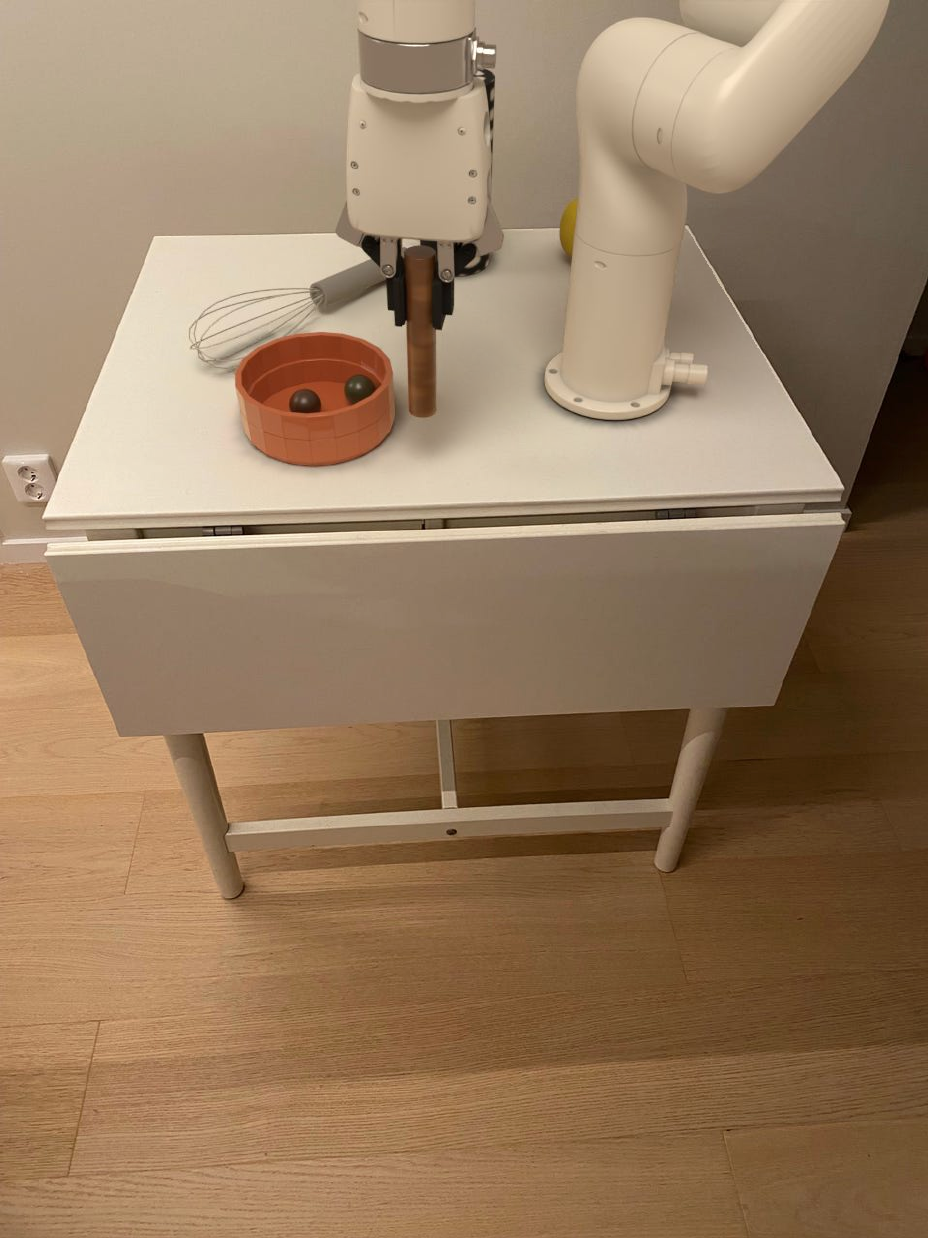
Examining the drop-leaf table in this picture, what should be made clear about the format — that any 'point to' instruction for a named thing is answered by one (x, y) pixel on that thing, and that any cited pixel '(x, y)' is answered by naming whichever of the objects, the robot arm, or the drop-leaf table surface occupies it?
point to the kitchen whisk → (319, 293)
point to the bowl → (325, 371)
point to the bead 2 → (358, 388)
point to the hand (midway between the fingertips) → (421, 318)
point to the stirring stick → (420, 330)
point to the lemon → (568, 226)
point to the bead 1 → (305, 402)
